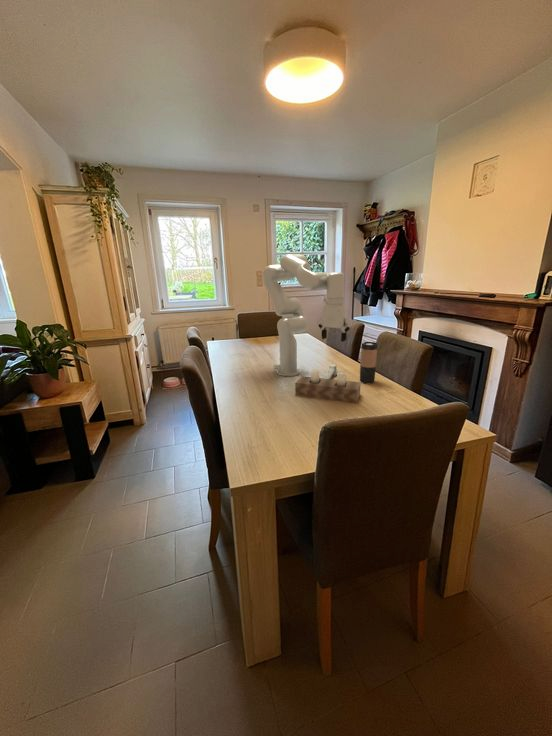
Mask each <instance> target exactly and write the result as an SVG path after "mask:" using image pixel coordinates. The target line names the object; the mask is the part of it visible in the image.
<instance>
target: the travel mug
mask: <svg viewBox="0 0 552 736" xmlns="http://www.w3.org/2000/svg"><path fill="white" fill-rule="evenodd" d="M360 349H361V350H360V361H359V362H360V363H359V365H360V366H359V382H360V381H361V383H362V382H363V383H362V384H366V383H371V384H374V383H375V378H376V370H377V355H378V343H377V342H376V341H375V342H374V341H364V342H363V343H361V347H360ZM373 382H374V383H373Z"/></svg>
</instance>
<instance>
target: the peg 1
mask: <svg viewBox="0 0 552 736" xmlns="http://www.w3.org/2000/svg"><path fill="white" fill-rule="evenodd" d="M320 371H321V370H319V369H311V370H310V377H311V383H319V378H320Z"/></svg>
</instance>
